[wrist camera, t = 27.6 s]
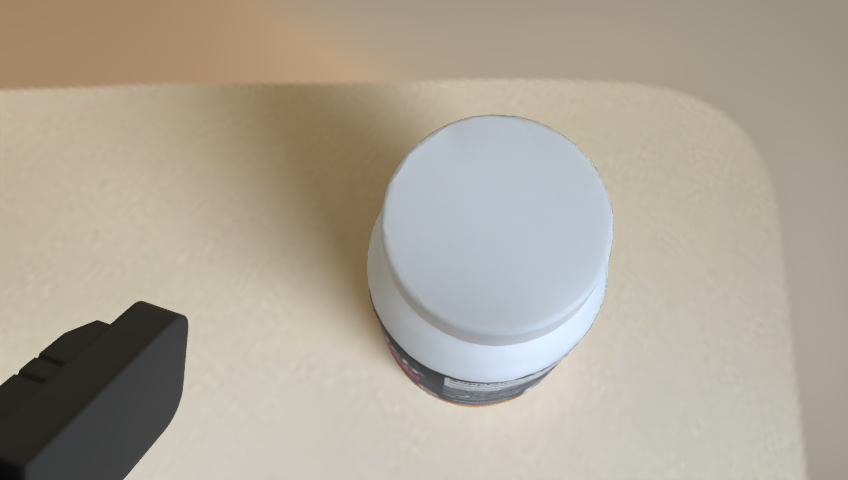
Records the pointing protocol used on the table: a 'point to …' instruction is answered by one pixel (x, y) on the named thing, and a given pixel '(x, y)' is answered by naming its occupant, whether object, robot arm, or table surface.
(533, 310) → the pill bottle
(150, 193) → the table surface
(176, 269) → the table surface
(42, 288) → the table surface
